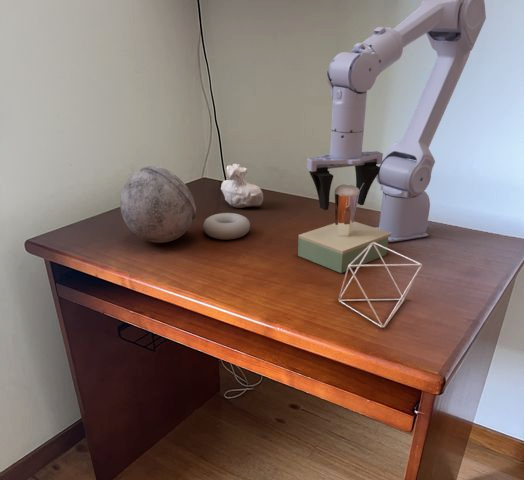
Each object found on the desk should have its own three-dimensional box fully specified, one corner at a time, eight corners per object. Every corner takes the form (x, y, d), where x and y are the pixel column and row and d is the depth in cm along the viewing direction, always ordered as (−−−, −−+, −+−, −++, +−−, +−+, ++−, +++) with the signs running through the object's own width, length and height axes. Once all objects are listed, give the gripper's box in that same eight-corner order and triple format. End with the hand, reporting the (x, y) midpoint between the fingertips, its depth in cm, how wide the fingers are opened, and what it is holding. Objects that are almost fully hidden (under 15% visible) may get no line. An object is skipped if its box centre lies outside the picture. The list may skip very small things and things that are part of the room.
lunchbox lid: (347, 221, 112) (347, 219, 112) (391, 236, 105) (391, 233, 105) (298, 237, 104) (298, 234, 104) (342, 254, 97) (342, 251, 97)
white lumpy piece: (221, 210, 137) (201, 180, 128) (235, 186, 139) (216, 155, 129) (260, 219, 131) (241, 188, 122) (274, 194, 133) (257, 162, 123)
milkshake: (353, 240, 101) (358, 185, 96) (327, 234, 104) (331, 181, 99) (363, 232, 105) (368, 180, 99) (338, 227, 107) (341, 176, 102)
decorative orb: (211, 240, 114) (207, 166, 106) (156, 260, 105) (147, 180, 97) (165, 224, 122) (158, 154, 114) (111, 241, 113) (99, 167, 105)
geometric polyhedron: (382, 288, 94) (387, 237, 89) (428, 313, 86) (437, 259, 81) (323, 306, 88) (325, 252, 84) (367, 334, 80) (372, 277, 76)
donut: (197, 241, 114) (244, 243, 112) (196, 224, 112) (243, 226, 110) (211, 225, 122) (254, 227, 120) (210, 209, 120) (254, 211, 118)
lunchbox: (343, 239, 114) (344, 222, 112) (386, 254, 106) (388, 237, 104) (297, 255, 106) (298, 238, 104) (341, 273, 99) (342, 254, 97)
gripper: (320, 137, 91) (317, 217, 98) (395, 130, 95) (386, 207, 102) (302, 130, 96) (300, 206, 104) (373, 124, 101) (366, 197, 108)
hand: (341, 206), depth 103 cm, fingers open, 7 cm apart
